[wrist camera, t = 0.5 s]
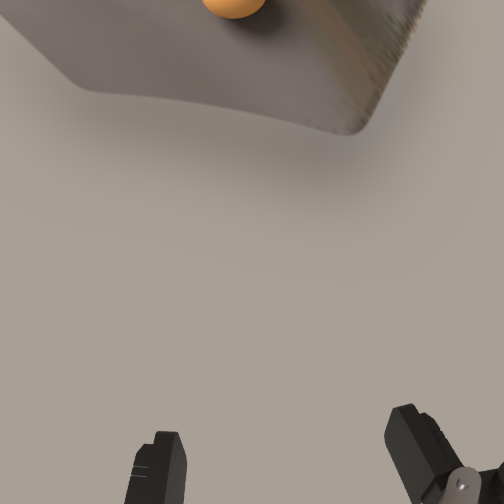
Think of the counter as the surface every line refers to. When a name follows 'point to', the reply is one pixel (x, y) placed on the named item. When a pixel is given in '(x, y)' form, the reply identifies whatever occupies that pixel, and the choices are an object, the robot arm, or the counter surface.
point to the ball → (233, 7)
